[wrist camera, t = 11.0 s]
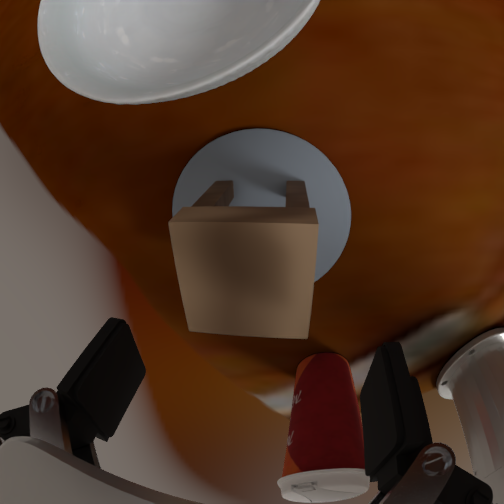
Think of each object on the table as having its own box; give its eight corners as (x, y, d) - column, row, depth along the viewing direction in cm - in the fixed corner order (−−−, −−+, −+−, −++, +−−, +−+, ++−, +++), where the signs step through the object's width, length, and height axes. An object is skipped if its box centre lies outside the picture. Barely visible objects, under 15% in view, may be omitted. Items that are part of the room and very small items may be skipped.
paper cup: (271, 363, 28) (255, 492, 16) (338, 333, 25) (351, 478, 13) (311, 397, 30) (308, 506, 18) (370, 372, 27) (387, 490, 15)
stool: (307, 178, 18) (318, 224, 11) (304, 262, 21) (307, 338, 14) (212, 178, 19) (168, 222, 12) (219, 259, 22) (189, 331, 15)
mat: (383, 223, 20) (385, 226, 19) (261, 317, 25) (261, 320, 25) (256, 89, 16) (255, 88, 16) (144, 219, 22) (142, 221, 21)
